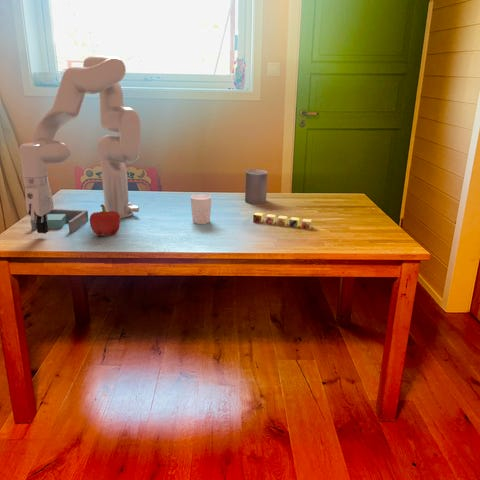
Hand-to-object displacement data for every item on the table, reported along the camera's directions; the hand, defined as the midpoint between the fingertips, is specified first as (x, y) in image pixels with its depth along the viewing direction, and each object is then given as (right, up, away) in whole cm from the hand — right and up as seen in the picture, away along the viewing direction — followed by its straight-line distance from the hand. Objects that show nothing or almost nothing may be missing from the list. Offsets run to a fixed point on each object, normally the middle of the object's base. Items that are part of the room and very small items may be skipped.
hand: (42, 232), depth 165 cm
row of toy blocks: (+85, +2, +18) cm, 87 cm away
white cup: (+54, +4, +21) cm, 58 cm away
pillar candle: (+76, +15, +50) cm, 92 cm away
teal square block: (-1, +3, +13) cm, 14 cm away
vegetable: (+21, -1, +5) cm, 21 cm away
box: (+1, +3, +13) cm, 13 cm away
